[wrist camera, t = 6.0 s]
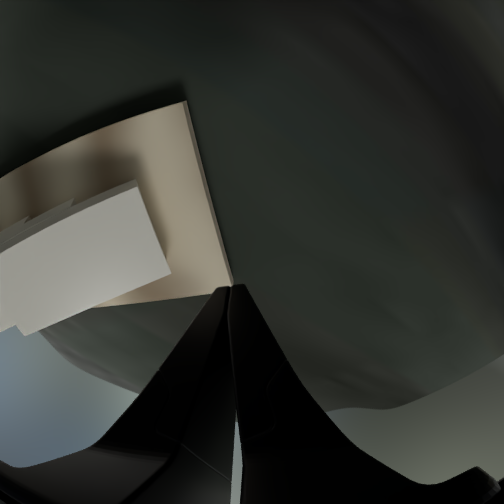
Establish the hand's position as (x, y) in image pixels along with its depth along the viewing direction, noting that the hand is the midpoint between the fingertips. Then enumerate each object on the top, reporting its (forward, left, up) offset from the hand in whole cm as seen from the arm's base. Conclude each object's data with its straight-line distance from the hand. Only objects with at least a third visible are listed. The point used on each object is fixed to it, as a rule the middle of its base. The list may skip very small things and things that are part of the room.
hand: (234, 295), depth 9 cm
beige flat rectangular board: (+13, 0, -8) cm, 15 cm away
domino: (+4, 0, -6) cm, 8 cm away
